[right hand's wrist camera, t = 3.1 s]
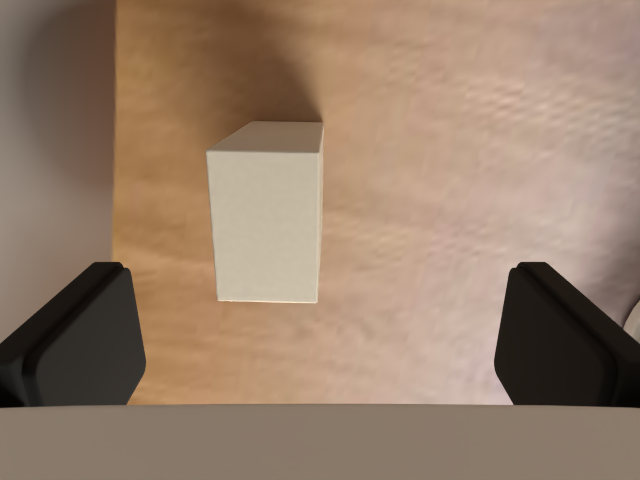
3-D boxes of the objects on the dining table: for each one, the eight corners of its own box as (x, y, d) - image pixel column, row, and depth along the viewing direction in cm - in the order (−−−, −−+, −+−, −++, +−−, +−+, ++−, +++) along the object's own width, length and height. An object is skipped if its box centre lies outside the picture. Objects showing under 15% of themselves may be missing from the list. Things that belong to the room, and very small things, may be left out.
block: (324, 122, 28) (319, 151, 18) (322, 225, 30) (317, 303, 20) (251, 120, 28) (204, 149, 18) (255, 224, 30) (216, 301, 20)
